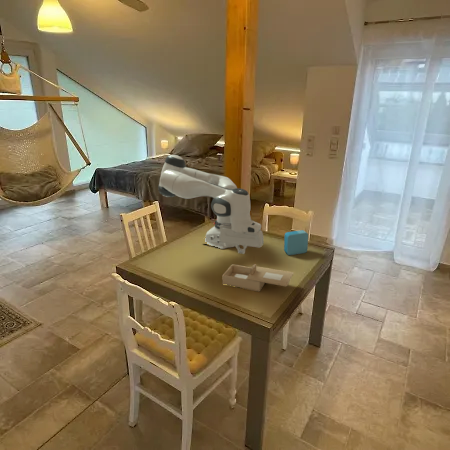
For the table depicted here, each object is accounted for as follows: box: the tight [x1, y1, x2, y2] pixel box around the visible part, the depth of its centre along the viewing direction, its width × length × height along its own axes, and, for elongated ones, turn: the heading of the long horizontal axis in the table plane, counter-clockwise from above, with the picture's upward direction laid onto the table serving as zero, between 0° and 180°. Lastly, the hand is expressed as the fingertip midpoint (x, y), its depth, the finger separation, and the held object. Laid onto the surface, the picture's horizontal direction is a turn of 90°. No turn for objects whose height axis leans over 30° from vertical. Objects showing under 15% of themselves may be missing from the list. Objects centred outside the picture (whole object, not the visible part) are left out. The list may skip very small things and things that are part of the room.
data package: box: [283, 229, 309, 256], centre depth 192 cm, size 12×4×12 cm, turn 105°
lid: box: [246, 264, 294, 287], centre depth 158 cm, size 18×13×4 cm
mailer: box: [221, 263, 266, 293], centre depth 164 cm, size 18×12×5 cm, turn 67°
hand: (241, 253), depth 161 cm, fingers closed
